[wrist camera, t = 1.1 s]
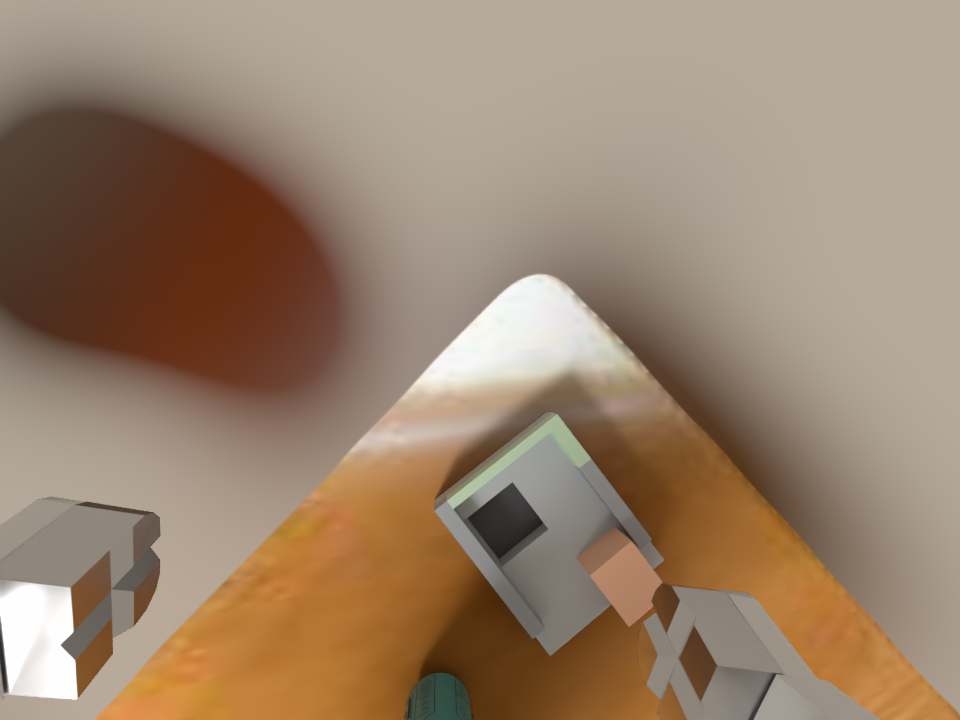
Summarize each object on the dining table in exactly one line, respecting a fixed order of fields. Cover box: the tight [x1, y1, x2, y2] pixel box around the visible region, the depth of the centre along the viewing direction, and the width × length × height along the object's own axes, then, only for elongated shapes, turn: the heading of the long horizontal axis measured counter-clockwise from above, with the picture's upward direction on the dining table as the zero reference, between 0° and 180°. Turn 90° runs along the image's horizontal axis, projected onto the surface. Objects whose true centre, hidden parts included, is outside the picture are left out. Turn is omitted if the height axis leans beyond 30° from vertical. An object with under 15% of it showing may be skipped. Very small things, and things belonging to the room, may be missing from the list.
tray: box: [434, 411, 664, 656], centre depth 49 cm, size 19×15×4 cm
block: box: [576, 526, 663, 627], centre depth 46 cm, size 6×5×4 cm
